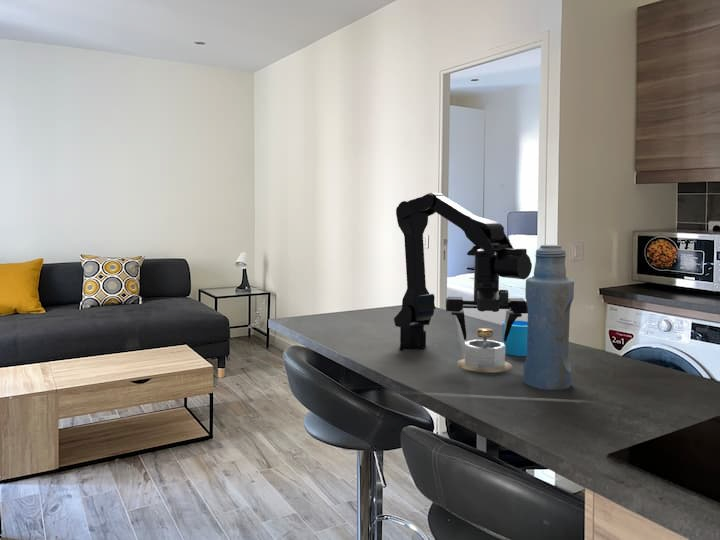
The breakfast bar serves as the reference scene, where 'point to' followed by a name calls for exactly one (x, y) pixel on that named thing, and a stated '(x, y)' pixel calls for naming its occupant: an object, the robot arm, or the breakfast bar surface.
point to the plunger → (484, 334)
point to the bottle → (548, 321)
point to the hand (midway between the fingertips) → (484, 340)
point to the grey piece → (484, 355)
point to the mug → (516, 339)
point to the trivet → (462, 365)
